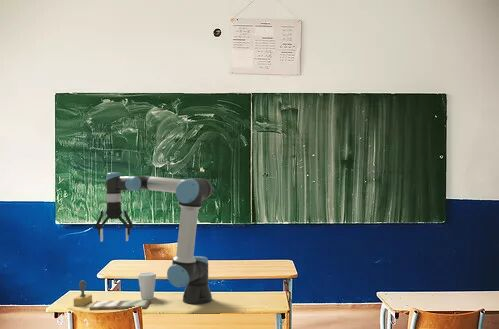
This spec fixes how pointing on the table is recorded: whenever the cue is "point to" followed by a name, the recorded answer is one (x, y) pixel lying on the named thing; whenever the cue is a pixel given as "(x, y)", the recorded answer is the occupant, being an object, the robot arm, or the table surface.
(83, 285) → the rubber stamp
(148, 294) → the foam cup
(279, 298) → the table surface
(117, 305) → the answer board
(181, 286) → the robot arm
